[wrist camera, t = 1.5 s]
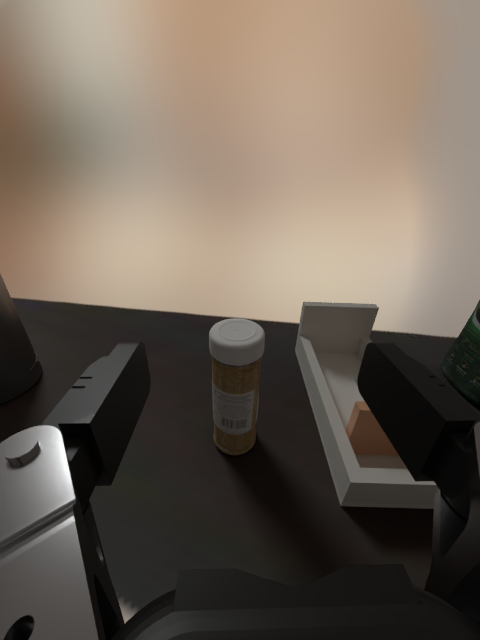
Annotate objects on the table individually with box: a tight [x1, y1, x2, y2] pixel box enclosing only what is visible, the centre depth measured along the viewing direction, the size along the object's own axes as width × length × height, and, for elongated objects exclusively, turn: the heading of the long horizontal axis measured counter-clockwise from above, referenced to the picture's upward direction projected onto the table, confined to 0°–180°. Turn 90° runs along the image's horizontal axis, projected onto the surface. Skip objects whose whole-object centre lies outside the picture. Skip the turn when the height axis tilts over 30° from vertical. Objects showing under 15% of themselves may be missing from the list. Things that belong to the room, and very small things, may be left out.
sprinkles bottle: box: [209, 319, 265, 455], centre depth 24 cm, size 5×5×14 cm
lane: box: [295, 302, 438, 509], centre depth 30 cm, size 22×10×9 cm, turn 179°
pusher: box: [345, 376, 398, 455], centre depth 27 cm, size 8×7×6 cm
